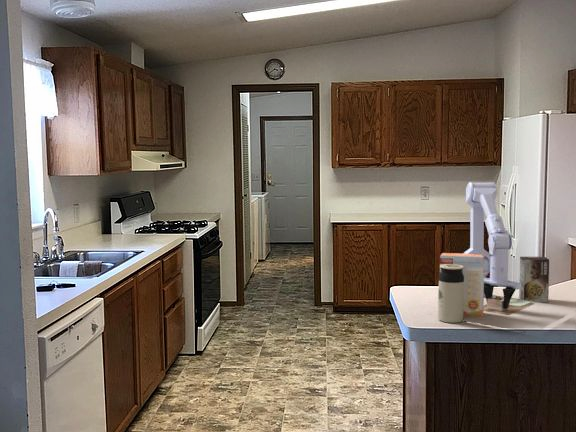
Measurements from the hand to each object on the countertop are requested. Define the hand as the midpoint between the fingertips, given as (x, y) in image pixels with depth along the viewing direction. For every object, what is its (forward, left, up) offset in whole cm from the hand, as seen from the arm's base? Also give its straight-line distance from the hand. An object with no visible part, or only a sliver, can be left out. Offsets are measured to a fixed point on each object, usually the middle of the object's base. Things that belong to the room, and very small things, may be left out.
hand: (497, 306), depth 212 cm
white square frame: (0, 0, -1) cm, 1 cm away
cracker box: (-7, -13, -2) cm, 15 cm away
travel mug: (-7, -20, -2) cm, 22 cm away
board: (0, +6, -2) cm, 6 cm away
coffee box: (+2, +26, -2) cm, 26 cm away
